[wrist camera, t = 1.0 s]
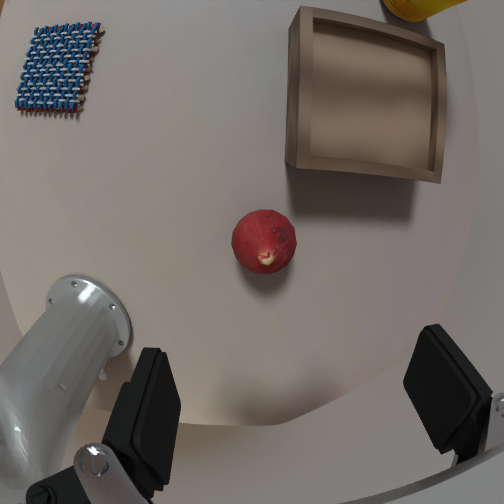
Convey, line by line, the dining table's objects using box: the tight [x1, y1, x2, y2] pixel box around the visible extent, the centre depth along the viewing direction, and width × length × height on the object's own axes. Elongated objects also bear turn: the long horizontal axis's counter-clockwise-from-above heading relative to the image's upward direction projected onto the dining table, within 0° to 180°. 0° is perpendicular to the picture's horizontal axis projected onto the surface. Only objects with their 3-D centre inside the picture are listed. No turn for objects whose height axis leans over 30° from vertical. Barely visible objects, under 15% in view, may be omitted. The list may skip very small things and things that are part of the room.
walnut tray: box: [285, 6, 446, 184], centre depth 23 cm, size 14×14×6 cm
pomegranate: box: [231, 210, 297, 274], centre depth 27 cm, size 6×6×8 cm
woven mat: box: [14, 22, 104, 113], centre depth 22 cm, size 10×11×2 cm
